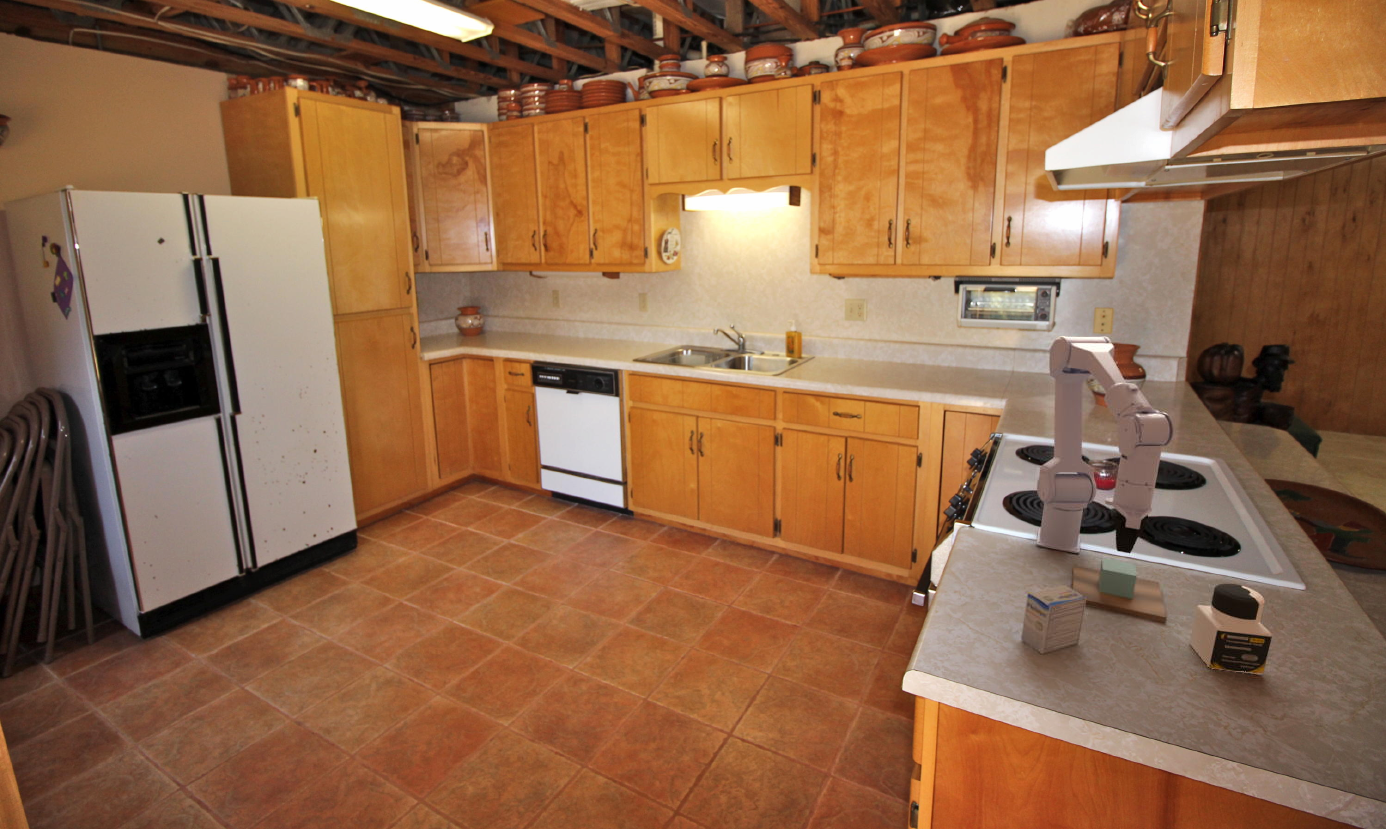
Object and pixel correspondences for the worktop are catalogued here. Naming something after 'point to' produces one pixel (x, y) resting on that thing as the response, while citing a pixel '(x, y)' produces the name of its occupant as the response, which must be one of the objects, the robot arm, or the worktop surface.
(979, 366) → the worktop surface
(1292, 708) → the worktop surface
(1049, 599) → the medicine box
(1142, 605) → the board
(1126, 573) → the sage green cube
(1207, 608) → the medicine bottle
